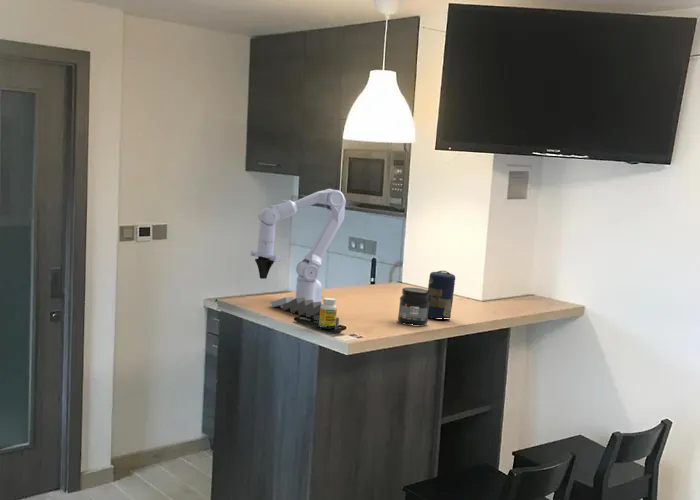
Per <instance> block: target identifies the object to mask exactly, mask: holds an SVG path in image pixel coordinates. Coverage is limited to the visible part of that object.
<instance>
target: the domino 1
mask: <svg viewBox="0 0 700 500" xmlns="http://www.w3.org/2000/svg"><path fill="white" fill-rule="evenodd" d="M293 299H295V296H286V297H283V298H280V299H275V300H273V301H271V302H270V304H271V307H272V308H281V307H282V305H284V304H286V303H288V302H290V301H291V300H293Z"/></svg>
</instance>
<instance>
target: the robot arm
mask: <svg viewBox="0 0 700 500" xmlns="http://www.w3.org/2000/svg"><path fill="white" fill-rule="evenodd" d="M343 193H344V192H342V191H341V190H339V189H332V188H326V189H324V190H318V191H315V192H313V193H312V194H308V195H306V196H304V197H302V198H299V199H297V200H295V201H293V200H291V199H288V200H287V199H283V200H282V202H281V203H278V204H275V205H274V204H272V205H270V208H269V207H264V208H263V209H261V210H260V212H259V214H258V219H259V221H260V223H259V228H258V229H259V230H258V241H257V250H250V253H249V254H250V255H249V256H251V257H257V258H255V260H254V261H255V264H256V265H257V269H258V275H259V279H261V280H262V279H263V280H264V279H267V277H268V274H269V272H270V270H271V268H272V266H273V264H274V263H275V262H280V261H281V256H280V255H277V254H274V247H275V235H276V224H277V223H278V221H282V220H284V219H286V218H290V217H292V216H294V215H296V214H297V211H298V210H299V211H300V210H301V209H304V208H307V207H309V206H312V205H316V204H319V205H321V204H322V205H324V207H325V208H326V210H327V214H328V219H327V220H326V222H325V224H324V226H323V228H322V229H321V231H320V233H319V235H318V236H317V239H316V240H315V242H314V243H313V245H312V246H311V249H310V251H309V252H308V253H307V254H306V255H304V257H303V259H302V260H301V261H299V262H298V263H297V265H296V267H295V271H296V274H297V275H298V276H297V278H296V284H295V296H294V299H295V298H304V297H305V300H313V302H321V304H323V302H322V291H323V286H322V283H321V281H319V279H317V278H319V276H320V269H321V267H322V260H323V258H324V255H325V254H326V252H327V250H328V249H329V247H330V245H331V243H332V241H333V239H334V238H335V235H336V234H337V232H338V230H339V229H340V227H341V226H342V224H343V222H344V220H345V215H346V213H345V212H346V211H345V210H346V202H347V200H346V197H345V196H344V195H345V194H343Z"/></svg>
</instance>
